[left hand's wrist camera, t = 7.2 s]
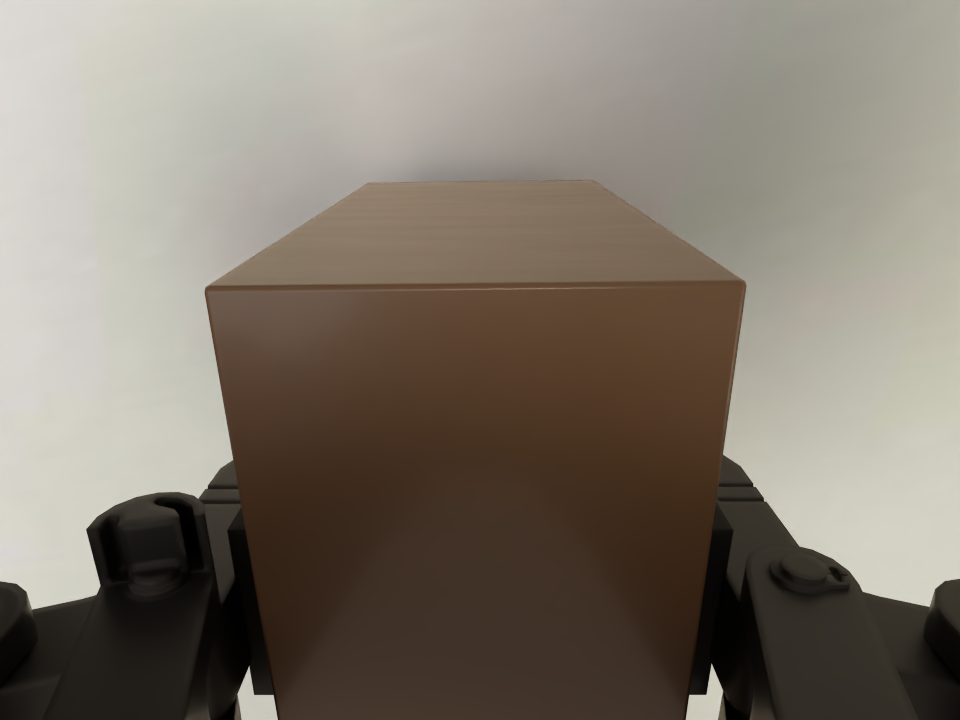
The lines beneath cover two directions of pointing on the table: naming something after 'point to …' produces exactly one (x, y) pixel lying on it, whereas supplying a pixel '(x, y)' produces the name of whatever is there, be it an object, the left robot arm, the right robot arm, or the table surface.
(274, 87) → the table surface
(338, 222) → the bar
